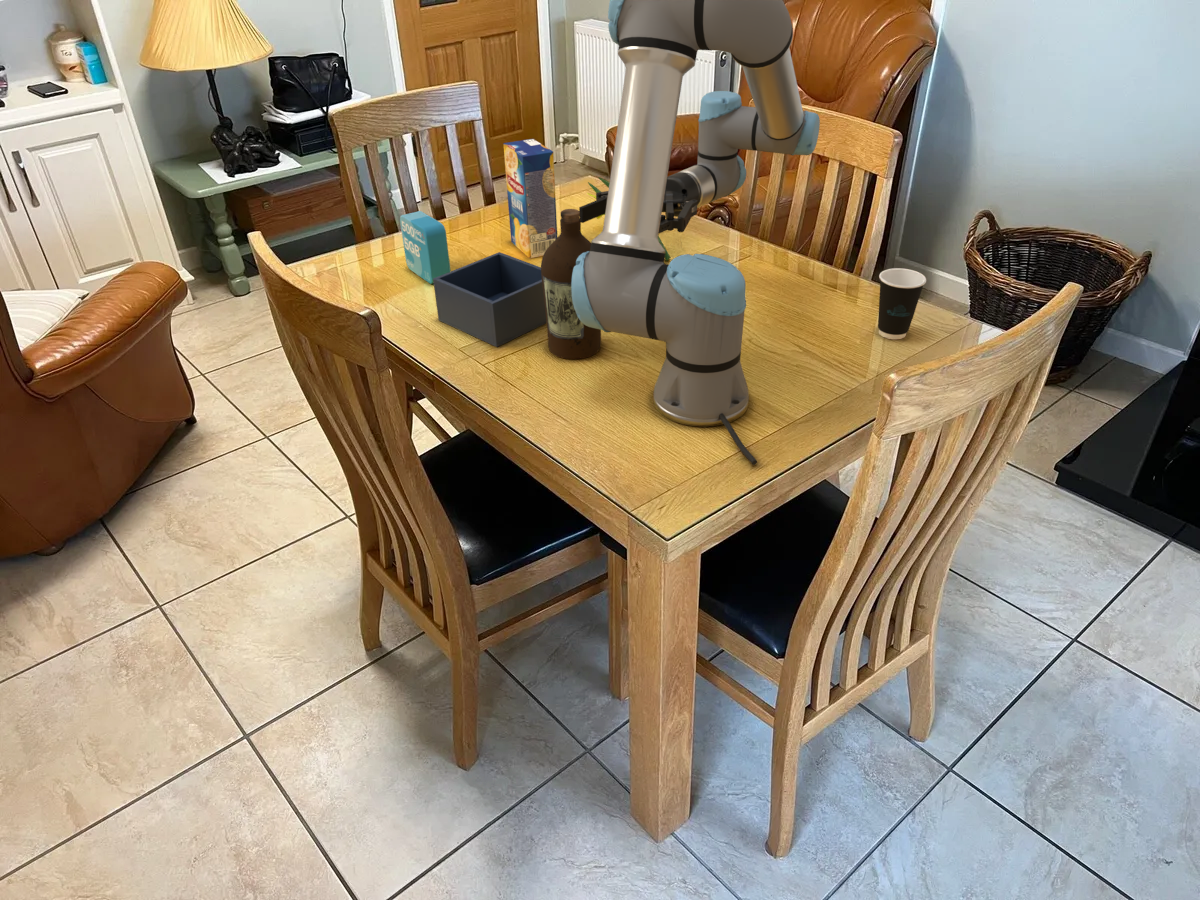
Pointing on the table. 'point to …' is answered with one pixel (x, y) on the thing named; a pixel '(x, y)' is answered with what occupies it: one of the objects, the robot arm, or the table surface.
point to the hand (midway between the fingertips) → (609, 224)
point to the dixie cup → (898, 301)
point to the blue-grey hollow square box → (492, 298)
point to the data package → (425, 245)
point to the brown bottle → (566, 292)
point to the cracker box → (531, 196)
